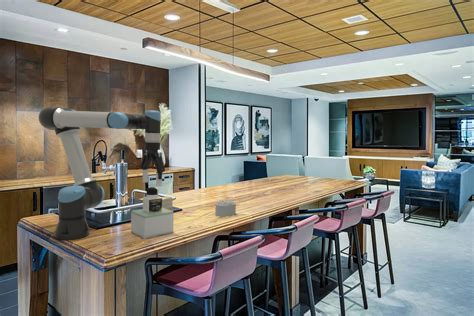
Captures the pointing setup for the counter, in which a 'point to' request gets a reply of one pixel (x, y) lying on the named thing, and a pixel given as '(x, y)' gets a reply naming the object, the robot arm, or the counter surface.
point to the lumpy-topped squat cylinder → (225, 208)
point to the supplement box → (167, 203)
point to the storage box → (151, 225)
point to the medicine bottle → (152, 201)
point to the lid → (148, 215)
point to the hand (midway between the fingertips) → (151, 184)
